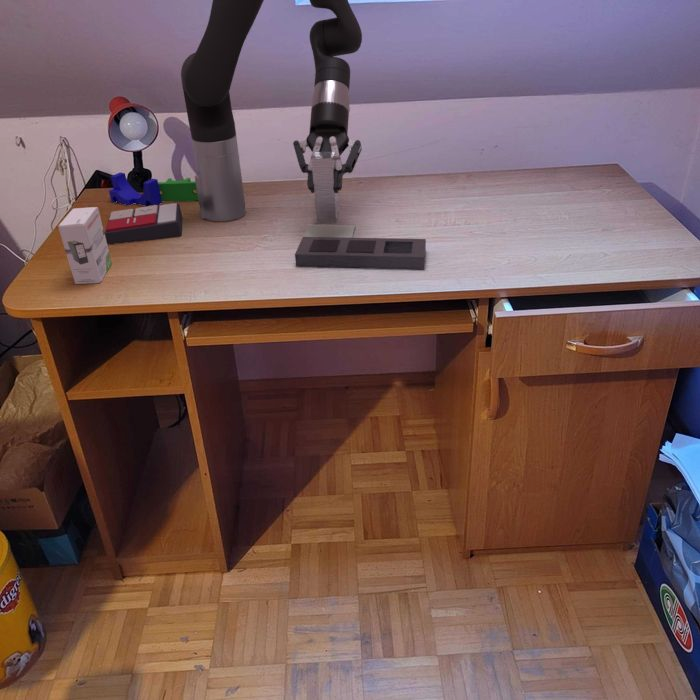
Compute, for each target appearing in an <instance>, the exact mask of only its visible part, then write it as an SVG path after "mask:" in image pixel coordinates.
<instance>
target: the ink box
mask: <svg viewBox="0 0 700 700" xmlns="http://www.w3.org/2000/svg"><path fill="white" fill-rule="evenodd" d="M57 226H58V231H59V234H60V238H61V241H62V244H63V247H64V252H65V255H66V257H67V261H68V264H69V268H70V272H71V274H72V278H73V281H74V284H75V285H83V284H101V282H102V281H103V279H104V277H105V276H106V274H107V273H108V271H109V269H110V267H111V266H112V263H113V262H112V259H111V258H112V257H111V255H110V251H109V247H108V246H109V245H108V242H107V239H106V236H105V231H104V226H103V223H102V218H101V214H100V210H99V207H97V206H92V207H91V206H90V207H78V208H77V207H76V208H74V207H73V208H72V209H71V210H70V212H69V213H67V215H66V216H65V217H64V218H63V219H62V221H61V222H60V223H59V224H58V225H57Z"/></svg>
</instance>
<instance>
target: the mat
mask: <svg viewBox="0 0 700 700" xmlns="http://www.w3.org/2000/svg"><path fill="white" fill-rule="evenodd" d="M355 231H356V225H355V224H308V225H307V227H306V229H305V231H304V233H303V236H302V238H303V237H344V238H354V237H353V236H354V233H355Z"/></svg>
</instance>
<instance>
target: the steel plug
mask: <svg viewBox="0 0 700 700" xmlns="http://www.w3.org/2000/svg"><path fill="white" fill-rule="evenodd" d="M335 153H336V152H315V153H314V155H313V157H312V158H311V157H310V160H311V159H312V172H313V183H314V193H313V194H314V195H313V197H314V205H315V206H314V208H315V209H314V210H315V218H316V219H315V221H316V224H337V222H338V220H339V218H340V209H339V208H340V207H339V192H338V193H335V192H334V190H333V184H334V174H335V171H336V167H335Z"/></svg>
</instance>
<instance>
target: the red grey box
mask: <svg viewBox="0 0 700 700" xmlns="http://www.w3.org/2000/svg"><path fill="white" fill-rule="evenodd" d="M183 217H184V216H183V214H182V210H181V205H180V204H179V203H177V202H173V203H172V202H171V203H166V204H161V205H158V206H157V205H153V206H147V207H146V206H142V207H136V208H135V209H133V208H130V209H129V208H127V209H122V210H121V209H120V210H116V211H115V210H114V211H111V212H110V214H109V216H108V220H107V224H106V227H105V231H104V234H105V238H106V242H107V245H115V244H114V243H119V244H127V242H128V243H134V242H135V241H137V242H143V241H144V240H145V241H150V240H157V239H158V240H159V239H160V240H163V239H172V238H179V237H182V236H183V235H182V234H183V220H184V218H183ZM125 242H126V243H125ZM135 243H136V242H135Z"/></svg>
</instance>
